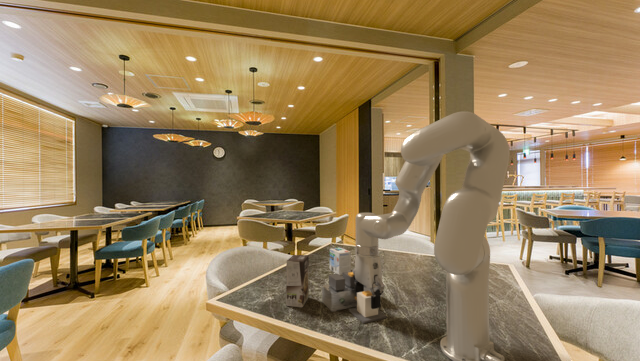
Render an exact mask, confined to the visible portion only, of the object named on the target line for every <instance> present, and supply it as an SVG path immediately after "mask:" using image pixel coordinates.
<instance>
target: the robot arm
mask: <svg viewBox="0 0 640 361" xmlns="http://www.w3.org/2000/svg"><path fill="white" fill-rule="evenodd" d="M459 149H460V150H463V151H466V152H468V153H469V160H468V163H467V166H466V169H465V174H464V178H463V182H462V185H461V188H459V189H456V190H454V191H453V192H452V193H450V195H449V196H448V197H447V199H446V200H445V202H444V204H443V208H442V210H441V213H440V214H441V215H440V218H439V224H438V228H437V231H436V236H435V238H434V239H435V240H434V244H433V246H434V247H433V253H434V254H433V255H434V259H435V260H436V263H437V264H438V266H439V267H440V268H441V269H442V270H444V271H445V272H446V276H445V277H446V278H445V284H446V285H445V287H446V288H445V293H446V296H445V300H446V301H445V302H446V303H445V305H446V306H445V307H446V308H445V310H446V336H444V337H442V338H441V339H440V346H439V347H440V350H441V352H442V353H443V354H444V355H445V356H446V357H447V358H448V359H449V360H451V361H505V355H503V354H501V353H498V352H497V351H496V350H495V343H494V342H493V341H491V340H490V308H489V307H490V306H489V305H490V302H489V301H490V300H489V299H490V298H489V296H490V294H489V293H490V286H489V285H490V278H489V277H490V263H491V248H490V244H489V241H488V239H487V238H486V233H487V229H488V225H489V224H490V223H491V222H493V220H494V219H495V218H496V216H497V215H498V211H499V206H500V201H501V198H502V197H501V196H502V193H503V190H504V185H505V179H506V176H507V173H508V172H507V171H508V168H509V163H510V155H511V154H510V153H511V151H510V145H509V142H508V140H507V138H506V137H505V134H503V133H502V131H500V129H498V128H496V126H494V125H492V124H490V123H489V122H488V121H486V120H485V119H483V118H482V117H480V115H478V114H476V113H474V112H472V111H467V110H466V111H457V112H454V113H451V114H448V115H447V116H444V117H442V118H440V119H439V120H436V121H434V122H432V123H430V124H428V125H426V126H423V127H421V128H420V129H416V131H414V132H412V133H410V134H408V136H406V137H405V138H404V140H403V142H402V144H401V146H400V155H401V157H402V159H403V161H404V163H403V165H402V167H401V169H400V171H399V173H398V175H397V177H396V178H395V181H394V182H395V185H396V187H397V190H398V194H399V195H398V199H397V202H396V204H395V206H394V208H393V209H392V211H391V212H390V213H389V212H388V213H384V214H383V213H382V214H376V213H373V212H359V213H357V214H356V215H355V258H354V268H352V269H351V272H353V275H354V276H353V278H354V280H355V281H354V284H355V296H356V297H357V293H358V292H363V291H364V285H365V286H366V287H368V288H370V290H371V293H372V295H373V296H371V308H372V309H376V308H378V309H380V308H381V307H382V306H381V305H382V304H381V297H382V295H383V293H384V290H385V287H386V286H385V284H384V283H383V273H382V263H381V259H380V254H379V240H389V239H392V238H395V237H398V236H402V235H403V234H404V233H406V232H407V231H408V230H409V228H410V226H411V225H412V223H413V221H414V219H415V218H416V216H417V214H418V211H419V209H420V205H421V202H422V195H423V193H424V191H425V189H426V188H427V185H428V184H429V182H430V181H431V178H432V177H433V175H434V174H435V171H436V170H437V168H438V167H439V164H440V163H441V161H442V159H443V157H444V155H446V154H449V153H451V152H454V151H457V150H459ZM373 284H375V285H373ZM372 285H373V286H372ZM374 288H376V289H377V290H376V291H374Z"/></svg>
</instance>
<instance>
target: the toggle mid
mask: <svg viewBox="0 0 640 361" xmlns="http://www.w3.org/2000/svg"><path fill="white" fill-rule="evenodd" d="M341 276H342V277H343V278H345V284H346V285H348V286H349V287H355V284H354V281H355V280H354V278H353V276H354V275H353V271H352V270H351V271H348V272H342V275H341Z"/></svg>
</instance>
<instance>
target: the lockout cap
mask: <svg viewBox="0 0 640 361" xmlns="http://www.w3.org/2000/svg"><path fill="white" fill-rule="evenodd" d="M371 296H373V295H372V293H371V291H370V290H369V291H363V292H358V293H357V306H356V308H357V311H358V312H359V313H360V314H362V315H363V316H364V317H369V316H373V315H378V310H379V308H376V309H372V308H371Z"/></svg>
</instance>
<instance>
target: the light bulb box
mask: <svg viewBox="0 0 640 361" xmlns="http://www.w3.org/2000/svg"><path fill="white" fill-rule="evenodd" d="M329 270H330V271H331V272H333V274H339V275H340V276H342V272H348V271H351V272H352V251H351V250H350V251H349V250H347V249H345V248H342V247H335V248H329Z"/></svg>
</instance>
